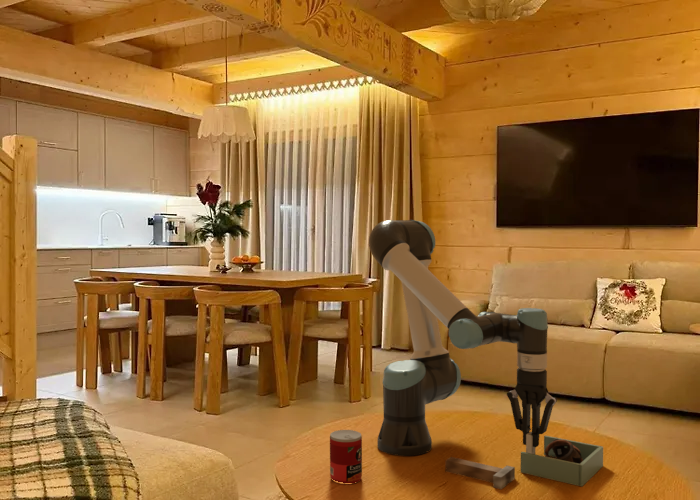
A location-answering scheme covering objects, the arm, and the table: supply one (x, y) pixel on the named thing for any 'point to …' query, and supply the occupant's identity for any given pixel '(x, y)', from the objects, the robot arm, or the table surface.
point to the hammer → (481, 471)
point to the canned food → (346, 456)
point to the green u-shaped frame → (564, 463)
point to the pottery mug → (564, 451)
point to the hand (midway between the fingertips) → (530, 457)
